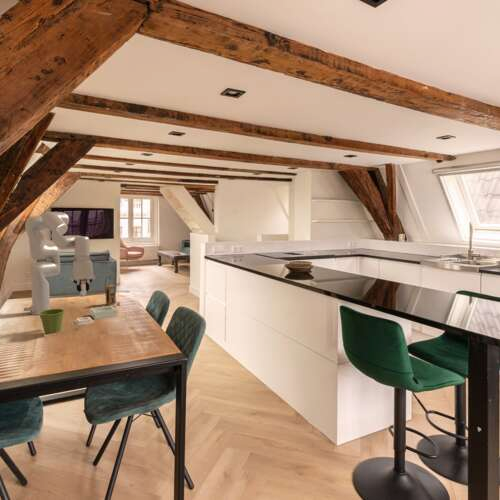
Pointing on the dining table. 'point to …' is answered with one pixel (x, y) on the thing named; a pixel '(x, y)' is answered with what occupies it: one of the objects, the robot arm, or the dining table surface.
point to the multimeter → (110, 294)
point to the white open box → (103, 312)
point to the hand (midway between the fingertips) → (83, 291)
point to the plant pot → (52, 320)
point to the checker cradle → (83, 320)
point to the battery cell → (83, 287)
